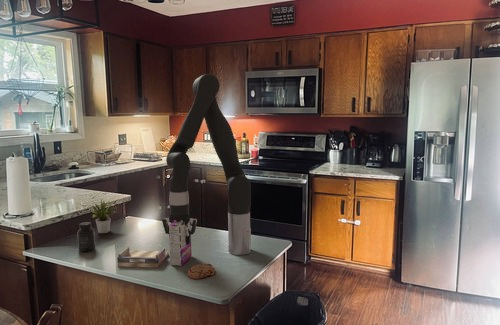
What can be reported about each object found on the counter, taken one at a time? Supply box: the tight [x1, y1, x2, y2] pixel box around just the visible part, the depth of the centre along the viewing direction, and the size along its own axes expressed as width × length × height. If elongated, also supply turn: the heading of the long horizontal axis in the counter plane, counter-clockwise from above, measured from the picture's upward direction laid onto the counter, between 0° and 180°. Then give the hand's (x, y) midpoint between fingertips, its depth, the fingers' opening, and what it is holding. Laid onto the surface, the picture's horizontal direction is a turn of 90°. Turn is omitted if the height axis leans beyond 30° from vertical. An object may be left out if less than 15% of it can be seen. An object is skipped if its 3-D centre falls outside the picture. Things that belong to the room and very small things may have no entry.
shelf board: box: [116, 246, 169, 268], centre depth 152 cm, size 16×13×4 cm
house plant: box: [88, 199, 117, 234], centre depth 188 cm, size 14×14×16 cm
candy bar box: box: [168, 221, 193, 267], centre depth 151 cm, size 11×5×16 cm, turn 168°
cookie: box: [187, 263, 216, 280], centre depth 140 cm, size 10×11×3 cm
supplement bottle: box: [77, 221, 96, 253], centre depth 164 cm, size 7×7×12 cm
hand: (180, 243), depth 151 cm, fingers closed on candy bar box, 5 cm apart
